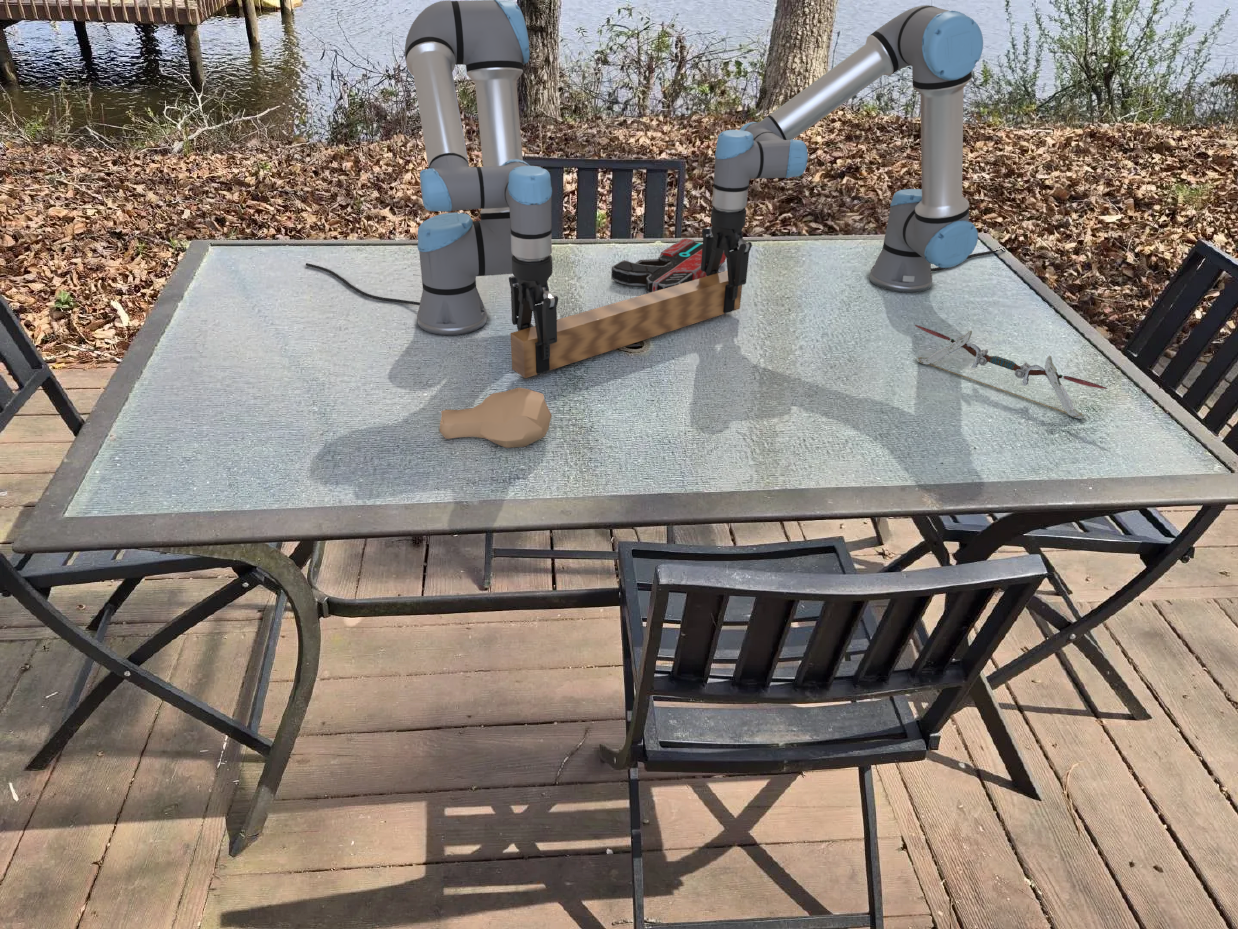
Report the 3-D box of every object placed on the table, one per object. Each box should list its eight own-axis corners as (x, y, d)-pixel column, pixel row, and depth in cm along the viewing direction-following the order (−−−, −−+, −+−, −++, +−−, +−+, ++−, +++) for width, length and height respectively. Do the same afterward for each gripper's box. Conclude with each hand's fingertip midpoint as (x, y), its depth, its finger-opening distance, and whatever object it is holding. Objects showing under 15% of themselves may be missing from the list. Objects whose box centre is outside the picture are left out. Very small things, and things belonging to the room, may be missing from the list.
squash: (553, 454, 153) (544, 415, 147) (441, 463, 154) (428, 425, 148) (556, 414, 161) (548, 375, 154) (450, 422, 162) (438, 384, 156)
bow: (1096, 421, 167) (1113, 374, 161) (1092, 425, 165) (1110, 378, 160) (909, 355, 188) (919, 312, 182) (905, 358, 187) (915, 315, 181)
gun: (605, 267, 214) (675, 286, 206) (666, 230, 236) (731, 246, 228) (605, 285, 217) (674, 304, 209) (664, 246, 239) (729, 263, 231)
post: (525, 378, 172) (523, 341, 168) (512, 369, 175) (510, 333, 171) (739, 308, 203) (743, 276, 198) (725, 301, 206) (728, 269, 201)
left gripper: (576, 265, 159) (576, 378, 172) (522, 236, 170) (526, 344, 183) (542, 274, 155) (544, 389, 168) (489, 244, 166) (495, 353, 179)
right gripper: (771, 214, 185) (759, 316, 198) (713, 193, 197) (705, 291, 210) (746, 221, 181) (735, 324, 194) (688, 199, 193) (682, 298, 206)
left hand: (535, 365), depth 176 cm, fingers closed on post, 5 cm apart
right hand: (720, 307), depth 202 cm, fingers closed on post, 5 cm apart
